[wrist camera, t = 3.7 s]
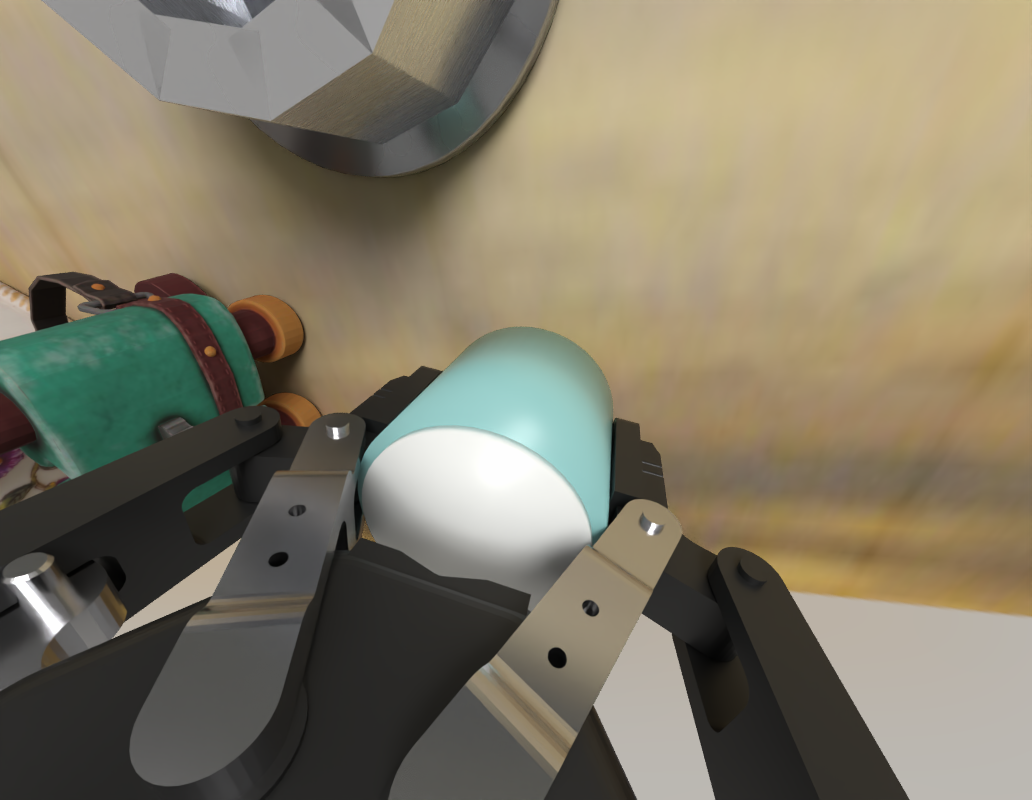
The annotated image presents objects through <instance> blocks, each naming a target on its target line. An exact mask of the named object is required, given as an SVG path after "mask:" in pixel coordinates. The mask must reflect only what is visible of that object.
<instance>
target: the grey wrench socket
mask: <svg viewBox="0 0 1032 800" xmlns="http://www.w3.org/2000/svg"><path fill="white" fill-rule="evenodd" d="M42 1H43V2H44V3H45V4H47V5H48V6H49V7H50V8H51V9H52V10H54V11H55V12H56V13H57V14H58V15H60V16H61V17H62V18H63V19H64V20H65V21H67V22H68V23H69V24H70V25H71V26H72V27H74V28H75V29H76V30H77V31H78V32H80V33H81V34H82V35H83V36H84V37H85V38H87V39H88V40H89V41H90V42H91V43H92V44H94V45H95V46H96V47H97V48H98V49H100V50H101V51H102V52H103V53H104V54H105V55H107V56H108V57H109V58H110V59H111V60H112V61H114V62H115V63H116V64H117V65H118V66H120V67H121V68H122V69H123V70H124V71H125V72H127V73H128V74H129V75H130V76H131V77H132V78H134V79H135V80H136V81H137V82H138V83H140V84H141V85H142V86H143V87H144V88H145V89H147V90H148V91H149V92H150V93H151V94H152V95H154V96H155V97H156V98H157V99H158V100H160V101H164V102H169V103H174V104H179V105H184V106H189V107H194V108H199V109H204V110H209V111H214V112H219V113H224V114H229V115H234V116H239V117H244V118H249V119H250V120H251V121H252V122H253V123H254V124H255V125H256V126H257V127H258V128H259V129H260V130H262V131H263V132H264V133H265V134H267V135H268V136H269V137H271V138H272V139H273V140H274V141H276V142H277V143H278V144H279V145H281V146H283V147H284V148H286V149H288V150H289V151H291V152H292V153H294V154H296V155H297V156H299V157H301V158H303V159H305V160H307V161H309V162H312V163H314V164H316V165H318V166H321V167H323V168H326V169H330V170H334V171H337V172H341V173H344V174H351V175H360V176H369V177H396V176H405V175H409V174H414V173H419V172H423V171H425V170H428V169H430V168H433V167H435V166H438V165H440V164H443V163H445V162H446V161H448V160H450V159H451V158H453V157H455V156H456V155H458V154H460V153H461V152H463V151H464V150H466V149H467V148H468V147H469V146H471V145H472V144H473V143H474V142H475V141H477V140H478V139H479V138H480V137H481V136H483V135H484V134H485V133H486V132H487V130H488V129H489V128H490V127H491V126H492V125H493V124H494V123H495V122H496V121H497V120H498V118H499V117H500V116H501V115H502V114H503V113H504V111H505V110H506V108H507V107H508V106H509V104H510V103H511V101H512V100H513V99H514V97H515V96H516V94H517V93H518V91H519V90H520V89H521V87H522V85H523V83H524V81H525V80H526V78H527V76H528V74H529V72H530V70H531V69H532V67H533V65H534V63H535V61H536V59H537V57H538V55H539V53H540V50H541V48H542V45H543V43H544V40H545V38H546V36H547V33H548V31H549V28H550V26H551V24H552V20H553V17H554V14H555V11H556V7H557V4H558V1H559V0H42Z"/></svg>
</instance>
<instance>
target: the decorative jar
mask: <svg viewBox="0 0 1032 800" xmlns="http://www.w3.org/2000/svg"><path fill="white" fill-rule="evenodd" d="M67 319H68V322H73V320H71V319H69V318H67ZM31 332H35V329H34V327H33V324H32V322H31V319H30V303H29V297H28V296H26V295H24V294H22V293H20V292H18V291H16V290H15V289H13V288H11V287H9V286H8V285H6V284H4V283H2V282H0V341H1V340H5V339H9V338H12V337H16V336H20V335H24V334H27V333H31ZM68 478H69V477H68V476H67V475H66V474H64V473H63V472H62V471H61V470H60V469H58V468H57V467H56V466H53V467H45V466H40V465H39V464H38V463H36V462H35V461H34V460H32V459H31V458H30V457H28V456H27V455H26V454H25V453H24V452H23V451H21V450H20V449H19V448H17V449H15V450H12V451H10V452H7V453H5V454H2V455H0V510H2V509H4V508H7V507H9V506H11V505H14V504H16V503H18V502H21V501H23V500H25V499H27V498H30V497H32V496H34V495H37V494H39V493H41V492H44V491H46V490H48V489H51V488H53V487H55V486H57V485H59V484H60V483H62V482H63V481H65V480H67V479H68Z"/></svg>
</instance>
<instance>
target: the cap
mask: <svg viewBox="0 0 1032 800" xmlns="http://www.w3.org/2000/svg"><path fill="white" fill-rule="evenodd" d="M612 428H613V400H612V395H611V390H610V388H609V385H608V382H607V380H606V378H605V376H604V374H603V372H602V370H601V369H600V368H599V366H598V365H597V363H596V362H595V361H594V360H593V359H592V358H591V356H590V355H589V354H588V353H587V352H586V351H584V350H583V349H582V348H581V347H579V346H578V345H577V344H575V343H574V342H572V341H570V340H569V339H567V338H565V337H563V336H561V335H559V334H556V333H554V332H551V331H547V330H544V329H539V328H533V327H510V328H504V329H500V330H496V331H493V332H491V333H488V334H486V335H484V336H482V337H481V338H479V339H477V340H476V341H475V342H473V343H472V344H471V345H469V346H468V347H467V348H466V349H465V350H464V351H463V352H462V353H461V354H460V355H459V356H458V357H457V358H456V359H455V360H454V361H453V362H452V363H451V364H450V365H449V366H448V367H447V368H446V369H445V370H444V371H443V372H442V373H441V374H440V375H439V376H438V377H437V378H436V379H435V380H434V381H433V382H432V383H431V384H430V385H429V386H428V387H427V388H426V389H425V390H424V391H423V392H422V393H421V394H420V395H419V396H418V397H417V398H416V399H415V400H414V401H413V402H412V403H411V404H410V405H409V406H408V407H407V408H406V409H404V410H403V411H402V412H401V413H400V414H399V415H398V416H397V417H396V418H395V419H394V420H393V421H392V422H391V423H390V424H389V425H388V426H387V427H386V428H385V429H384V430H383V431H382V432H381V433H380V434H379V435H378V436H377V437H376V438H375V439H374V441H373V442H372V443H371V444H370V446H369V447H368V449H367V450H366V452H365V453H364V456H363V458H362V461H361V467H360V471H359V475H358V495H359V501H360V505H361V508H362V512H363V514H364V516H365V520H366V523H367V525H368V527H369V530H370V532H371V534H372V536H373V538H374V539H375V541H376V543H379V544H382V545H385V546H388V547H391V548H394V549H397V550H400V551H402V552H403V553H405V554H406V555H408V556H409V557H411V558H412V559H414V560H415V561H417V562H418V563H420V564H421V565H423V566H424V567H426V568H427V569H429V570H430V571H432V572H433V573H435V574H437V575H440V576H448V577H460V578H471V579H483V580H489V581H492V582H495V583H498V584H501V585H504V586H507V587H510V588H513V589H516V590H519V591H522V592H525V593H528V594H531V597H530V602H529V606H528V610H530V611H531V612H532V610H533V609H534V608H535V607H536V605H537V604H538V603H539V602H540V601H541V599H542V598H543V597H544V596H545V595H546V593H547V592H548V591H549V590H550V588H551V587H552V586H553V585H554V584H555V582H556V581H557V580H558V579H559V577H560V576H561V575H562V574H563V573H564V571H565V570H566V569H567V568H568V567H569V565H570V564H571V563H572V562H573V560H574V559H575V558H576V557H577V556H578V554H579V553H580V552H581V551H582V550H583V548H584V547H585V546H587V545H590V546H592V547H593V546H594V544H595V543H596V542H597V541H598V539H599V538H600V537H601V536H602V534H603V533H604V532H605V531H606V529H607V528H608V518H609V495H610V473H611V450H612Z"/></svg>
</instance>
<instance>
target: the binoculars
mask: <svg viewBox="0 0 1032 800" xmlns="http://www.w3.org/2000/svg"><path fill="white" fill-rule="evenodd" d="M66 288H68V289H70V290H72V291H74V292H76V293H78V294H80V295H82V296H83V297H84V298H86V299H87V300H88V301H89V302H84V303H82V304H79V305H78V306H77V307H78V309H79V310H80V311H82V312H86V313H91V314H95V316H91V317H88V318H84V319H80V320H76V321H73V322H68V319H67V316H66ZM134 292H135V293H132V292H131V291H128V290H125V289H122V288H119V287H118V286H117V285H115V284H114V283H112V282H111V281H109V280H101V279H99V278H97V277H95V276H93V275H88V274H82V273H77V272H68V273H60V274H52V275H43V276H37V277H36V279H35V280H34V281H33V283H32V284H31V286H30V287H29V303H30V319H31V322H32V324H33V327H34V329H35V332H31V333H27V334H24V335H20V336H16V337H12V338H9V339H5V340H1V341H0V455H2V454H5V453H7V452H10V451H12V450H15V449H17V448H19V449H20V450H21V451H23V452H24V453H25V454H26V455H27V456H28V457H30V458H31V459H32V460H34V461H35V462H36V463H38V464H39V465H40V466H45V467H53V466H56V467H57V468H58V469H60V470H61V471H62V472H63V473H64V474H66V475H67V476H68V477H69V478H68V479H67V480H65V481H63V482H62V483H64V482H67V481H69V480H71V479H74V478H76V477H78V476H81V475H83V474H85V473H88V472H90V471H92V470H95V469H97V468H99V467H101V466H104V465H106V464H108V463H111V462H113V461H115V460H118V459H120V458H122V457H125V456H127V455H129V454H132V453H134V452H136V451H139V450H141V449H143V448H145V447H148V446H150V445H152V444H155V443H157V442H159V441H162V440H164V439H166V438H169V437H171V436H173V435H176V434H178V433H180V432H182V431H185V430H187V429H189V428H192V427H194V426H196V425H199V424H201V423H203V422H206V421H208V420H210V419H213V418H215V417H217V416H219V415H222V414H224V413H226V412H229V411H231V410H234V409H237V408H241V407H246V406H266V407H270V408H273V409H275V410H276V411H277V412H278V413H279V414H280V420H281V425H289V426H304V427H309V426H310V425H311V423H312V422H313V421H314V420H316V419H317V418H319V417H321V416H320V414H319V412H318V410H317V409H316V408H315V406H314V405H313V404H311V403H310V402H309V401H308V400H306V399H305V398H303V397H301V396H299V395H296V394H293V393H278V394H274V395H272V396H270V397H268V398H266V399H265V398H264V392H263V388H262V384H261V380H260V377H259V374H258V371H257V368H256V365H255V362H254V359H255V360H258V361H261V362H266V363H269V362H274V361H277V360H279V359H282V358H284V357H286V356H289V355H291V354H294V353H295V352H296V351H298V350H299V348H300V347H301V345H302V342H303V328H302V325H301V322H300V320H299V318H298V317H297V315H296V313H295V312H294V311H293V310H292V309H291V308H290V307H289V306H288V305H287V304H286V303H284V302H283V301H281V300H279V299H278V298H275V297H272V296H269V295H257V296H253V297H250V298H246V299H243V300H239V301H237V302H235V303H232V304H231V305H230V306H229V307H228V308H226V307H225V306H224V305H223V304H222V303H221V302H219V301H218V300H216V299H215V298H212V297H209V296H207V295H206V294H205V293H204V292H203V291H202V290H201V289H200V288H199V287H198V286H197V285H195V284H194V283H193V282H191V281H190V280H188V279H187V278H185V277H183V276H181V275H179V274H175V273H170V274H167V275H163V276H159V277H155V278H151V279H147V280H143V281H140V282H138V283H137V284H136V285H135V290H134ZM98 308H99V309H98ZM114 308H116V309H114ZM264 399H265V400H264ZM62 483H60V484H62ZM60 484H59V485H60ZM231 484H232V480H231V477H230V473H229V470H227V471H225V472H223V473H222V474H220V475H218V476H216V477H214V478H213V479H211V480H209V481H207V482H205V483H204V484H202V485H200V486H198V487H196V488H195V489H193V490H192V491H191V492H190V493H189V494H188V495H187V496H186V497H185V499H184V501H183V503H182V510H183V512H185V511H187V510H188V509H190V508H192V507H193V506H195V505H197V504H198V503H200V502H202V501H204V500H205V499H207V498H209V497H210V496H212V495H214V494H215V493H217V492H219V491H220V490H222V489H224V488H226V487H227V486H229V485H231ZM57 486H58V485H57Z"/></svg>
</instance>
